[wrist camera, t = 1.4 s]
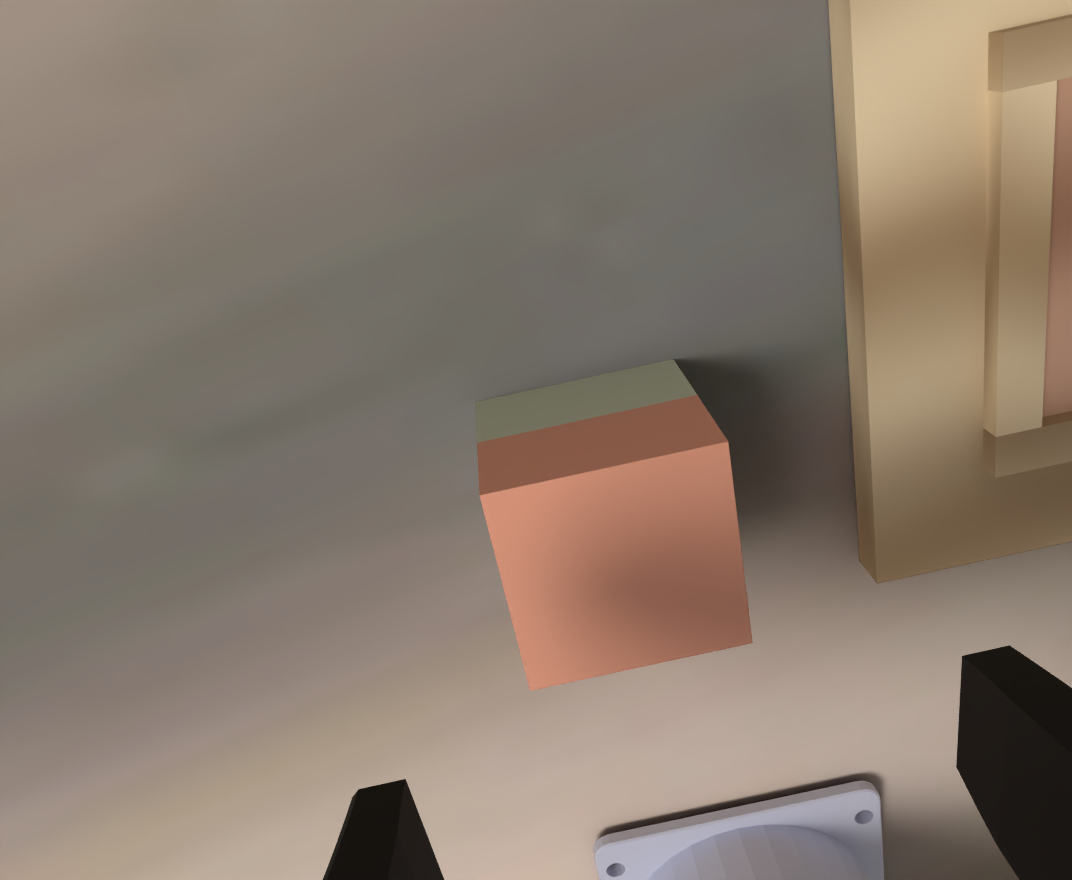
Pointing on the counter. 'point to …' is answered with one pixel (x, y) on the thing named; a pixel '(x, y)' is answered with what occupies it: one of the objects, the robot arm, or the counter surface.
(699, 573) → the brick stack
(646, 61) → the counter surface
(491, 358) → the counter surface
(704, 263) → the counter surface
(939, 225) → the baseplate
